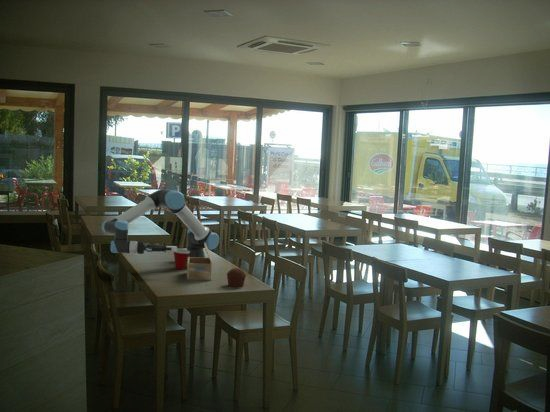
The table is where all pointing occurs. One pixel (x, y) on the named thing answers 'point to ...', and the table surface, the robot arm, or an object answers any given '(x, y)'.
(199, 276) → the light wood open box
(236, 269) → the muffin
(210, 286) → the table surface
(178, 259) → the plastic cup
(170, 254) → the table surface
